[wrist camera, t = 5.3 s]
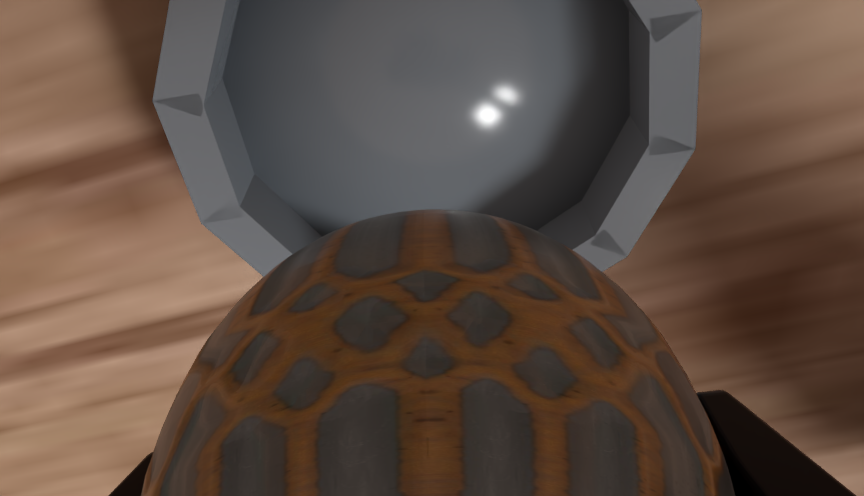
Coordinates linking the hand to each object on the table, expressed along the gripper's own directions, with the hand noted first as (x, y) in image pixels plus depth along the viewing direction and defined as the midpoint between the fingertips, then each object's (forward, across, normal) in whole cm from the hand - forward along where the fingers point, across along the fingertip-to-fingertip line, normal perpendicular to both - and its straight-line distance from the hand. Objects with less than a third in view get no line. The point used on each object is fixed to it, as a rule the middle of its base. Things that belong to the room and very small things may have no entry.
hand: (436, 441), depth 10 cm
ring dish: (+12, 0, 0) cm, 13 cm away
